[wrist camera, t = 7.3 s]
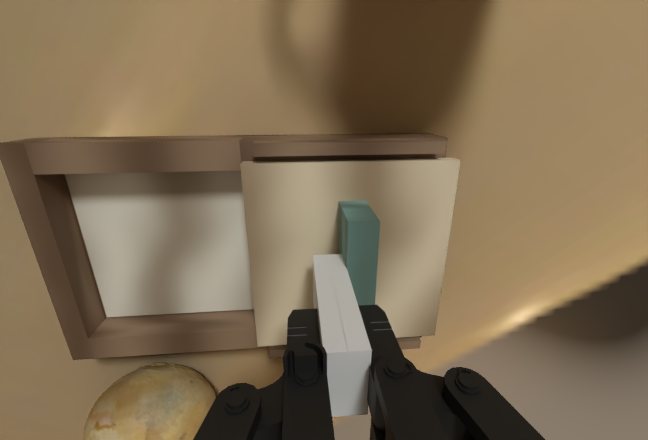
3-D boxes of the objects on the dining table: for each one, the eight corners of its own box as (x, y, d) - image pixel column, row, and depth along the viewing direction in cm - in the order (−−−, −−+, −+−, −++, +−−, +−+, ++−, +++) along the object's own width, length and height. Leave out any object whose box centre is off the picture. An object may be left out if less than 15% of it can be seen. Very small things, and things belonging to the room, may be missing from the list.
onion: (160, 437, 26) (115, 552, 19) (90, 374, 23) (9, 484, 17) (244, 397, 25) (227, 502, 19) (183, 327, 22) (136, 422, 16)
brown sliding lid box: (96, 332, 22) (62, 372, 19) (35, 137, 17) (-25, 146, 14) (408, 313, 24) (427, 348, 20) (428, 133, 19) (456, 140, 16)
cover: (258, 337, 20) (251, 388, 16) (242, 161, 16) (227, 178, 12) (429, 326, 21) (457, 373, 17) (453, 157, 17) (495, 173, 13)
